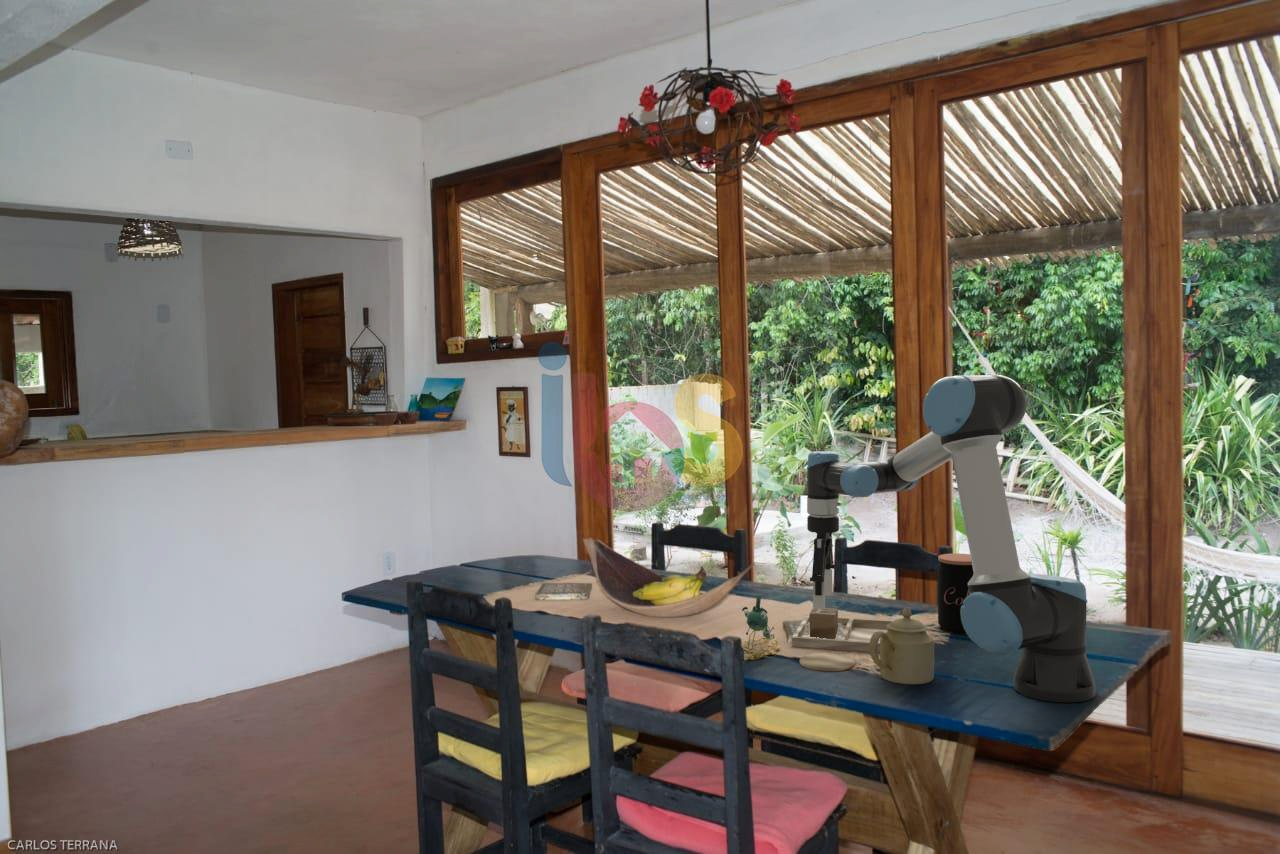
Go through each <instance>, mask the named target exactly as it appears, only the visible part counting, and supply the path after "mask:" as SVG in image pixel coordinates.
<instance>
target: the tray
mask: <svg viewBox="0 0 1280 854" xmlns="http://www.w3.org/2000/svg"><path fill="white" fill-rule="evenodd" d="M894 620H895V619H894ZM894 620H891V619H890V620H889V619H877V618H876V619H875V618H859V617H857V618H856V617H843V616H841V617H840V616H838V623H842V624H843V625H845V626H846V627H845V629H844V632H843V634H842V636H841V638H836V639H823V638H809V637H802V635H803V632H804V630H805V628H806V626H807V624H808V622H810V614H806V615H805V616H804V618H803V619H802V620H801V622H800V624H799V626H798V627H797V629H796V630H795V632H794V633H793V635H792V637H791V646H792V647H800V648H814V649H815V648H816V649H827V650H828V649H830V650H842V651H843V650H844V651H854V652H856V651H857V652H868V653H870V650H869V644H870V639H871V636H872V635H873V634H874V633H875V632H877V631H882V632H885V633H886V632H887V631H888V628H887V625H888V624H889V623H891V622H892V621H894ZM877 653H880V639H879V641H878V644H877Z"/></svg>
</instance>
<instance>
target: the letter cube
mask: <svg viewBox="0 0 1280 854" xmlns="http://www.w3.org/2000/svg"><path fill="white" fill-rule="evenodd" d="M809 615H810V637H816V638H817V637H819V638H826V639H835V638H836V634H837V631H838V617H839V609H838V608H826V607H825V609H817V608H813V607H812V609H811V610H810V612H809Z"/></svg>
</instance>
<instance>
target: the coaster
mask: <svg viewBox="0 0 1280 854" xmlns="http://www.w3.org/2000/svg"><path fill="white" fill-rule="evenodd" d="M799 664H800V665H801V666H802V667H803V668H806V669H809V670H812V671H813V670H814V671H817V672H841V671H843V672H844V671H849V670H850V669H852V668H855V665H856V663H855V660H854V659H853V658H852V657H849V656H846V655H843V654H838V653H837V654H836V653H830V652H829V653H827V652H826V653H825V652H822V653H821V652H820V653H809V654H807V655H806V654H805V655H803V656H802V657H800V658H799Z"/></svg>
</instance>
